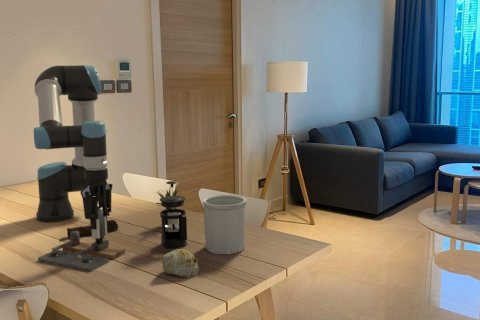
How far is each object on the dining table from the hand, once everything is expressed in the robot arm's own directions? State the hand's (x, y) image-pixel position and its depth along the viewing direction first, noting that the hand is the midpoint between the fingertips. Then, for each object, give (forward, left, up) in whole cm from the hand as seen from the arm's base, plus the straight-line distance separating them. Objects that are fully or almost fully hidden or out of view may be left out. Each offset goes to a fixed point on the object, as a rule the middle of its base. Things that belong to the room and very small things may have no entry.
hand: (99, 236), depth 164 cm
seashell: (+4, +34, -6) cm, 35 cm away
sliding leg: (+4, 0, -4) cm, 6 cm away
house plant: (-35, +5, -6) cm, 36 cm away
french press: (-17, +19, -6) cm, 26 cm away
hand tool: (-16, -17, -6) cm, 24 cm away
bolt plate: (+10, -3, -6) cm, 12 cm away
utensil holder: (-21, +37, -6) cm, 43 cm away
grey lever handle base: (+4, -3, -6) cm, 8 cm away
